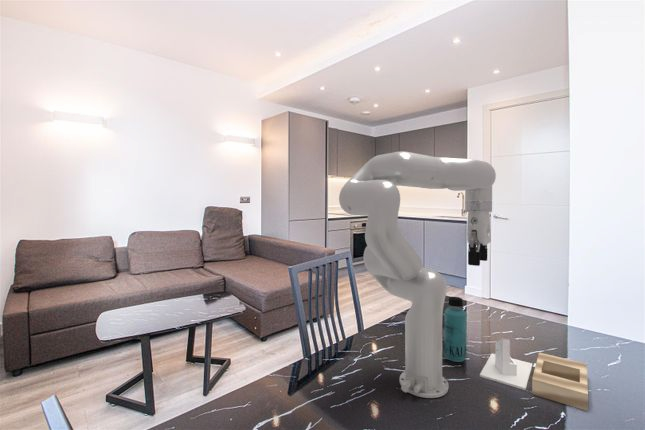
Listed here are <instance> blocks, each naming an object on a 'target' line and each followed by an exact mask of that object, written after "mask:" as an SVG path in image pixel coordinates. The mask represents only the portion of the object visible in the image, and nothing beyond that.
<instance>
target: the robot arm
mask: <svg viewBox="0 0 645 430" xmlns="http://www.w3.org/2000/svg"><path fill="white" fill-rule="evenodd" d="M496 174H497V173H496V171H495V168H494V167H493V165H492V164H491V163H489V162H487V161H484V160H480V159H474V158H473V159H471V158H454V157H445V156H443V157H441V156H439V157H438V156H431V155H427V154H422V153H421V154H420V153H415V152H410V151H394V152H389V153H384V154H378V155H375V156H373V157H372V158H370V159H369V160H368V161H367V162H366V163H365V164H364V165H363V166H362V167H360V169H358V171H356V172H355V174H354V175H352V176H351V177H350V178H349V179H348V180H347V182H346V183H344V185H343V186H342V188H341V189H340V191H339V196H338V201H339V205H340V207H341V209H342V210H343V211H344V212H345V213H347V214H349V215H351V216H366V217H367V219H366V225H365V231H364V232H365V233H364V239H365V243H366V247H365V248H364V251H363V258H362V259H363V263H364V267H365V268H366V271H368V273H369V274H370V275H371V276H372V277H373V278H374V279H375V280H376V282H378V284H379V285H380V286H381V287H382V288H383V289H384V290H385V291H386V292H387V293H389V294H390V295H391V296H395V297H397V298H399V299H404V300H406V301H408V302H411V306H410V307H409V309H408V310H407V312H406V314H405V318H404V326H405V327H404V330H405V331H404V332H405V333H404V335H405V336H404V344H405V346H404V351H405V352H404V357H405V358H404V360H405V361H404V363H405V364H404V365H405V369H404V370H405V371H403V372H402V373H401V374H400V376H399V385H400V386H401V387H400V389H401V390H402V392H404V393H409V394H411V395H413V396H415V397H420V398H422V399H423V398H425V399H438V398H441V397H443V396H445V395H446V394H447V393H448V392H449V382H448V381H447V379H446V378H445V377H444V376H443V316H444V315H443V314H444V306H445V301H446V295H447V288H448V287H447V286H448V285H447V282H446V279H445V277H444V276H443V275H442V274H441V273H440V272H439V271H437V270H434V269H430V268H427V267H423V261H422V258H421V256H420V255H419V253H418V251H417V250H416V249H415V248H414V246H413V245H412V244H411V243H410V241H409V240H408V239H407V238H406V236H405V235H404V234H403V233H402V231H401V229H400V227H399V224H398V223H399V222H398V221H399V220H398V218H399V211H400V207H401V205H400V204H401V193H400V190H399V188H398V187H400V186H401V187H412V188H420V189H431V190H433V189H435V190H436V189H437V190H440V189H441V190H442V189H443V190H444V189H446V190H447V189H448V190H450V191H454V192H455V191H457V192H459V191H463V192H464V213H467V223H466V225H467V228H466V234H467V235H466V241H467V243H468V249H467V265H469V266H474V267H480V265H481V262H484V261H485V262H486V261H488V244H490V243H491V242H492V234H491V233H492V232H491V227H492V226H491V216H490V213H492V212H493V185H494V184H495V182H496V177H497V175H496ZM397 186H398V187H397Z"/></svg>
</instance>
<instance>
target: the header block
mask: <svg viewBox="0 0 645 430" xmlns="http://www.w3.org/2000/svg"><path fill="white" fill-rule="evenodd" d="M535 363H536V364H535V367H534V371H533V374H532V381H531V395H534V396H537V397H540V398H544V399H547V400H550V401H554V402H557V403H560V404H564V405H567V406H571V407H573V408H577V409H580V410H584V411H587V412H588V411H589V386H588V385H589V384H588V367H587V366H588V364H587V363H586V362H581V361H578V360H574V359H573V360H572V359H569V358H564V357H560V356H557V355H552V354H551V355H550V354H547V353H542V352H538V355H537V359H536V362H535Z"/></svg>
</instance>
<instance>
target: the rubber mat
mask: <svg viewBox="0 0 645 430" xmlns="http://www.w3.org/2000/svg"><path fill="white" fill-rule="evenodd" d="M512 359H513V361H514V362H515V363H516V364H517V376H514V375H502V373H501V372H500V370H499V369H498V368H497V366H496V365H495V353H490V356H489V357H488V359H487V360H486V362H485V365H484V366H483V368H482V370H481V372H480V373H479V377H480V378H483V379H485V380H489V381H493V382H497V383H498V384H499V383H500V384H502V385H503V384H504V385H507V386H510V387H513V388H516V389H519V390H523V391H526V390H527V386H528V383H529V380H530V376H531V372H532V369H533V363H532V362H529V361H528V362H527V361H524V360H520V359H517V358H512Z"/></svg>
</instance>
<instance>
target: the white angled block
mask: <svg viewBox="0 0 645 430" xmlns="http://www.w3.org/2000/svg"><path fill="white" fill-rule="evenodd" d="M494 354H495V365H496V366H497V368H498V369H499V370H500V372H501V373H502V375H514V376H517V364H516V363H515V362H514V361H513V359H514V358H512V357H511V340H510V339H505V338H504V339H500V340H498V341H495V352H494Z"/></svg>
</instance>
